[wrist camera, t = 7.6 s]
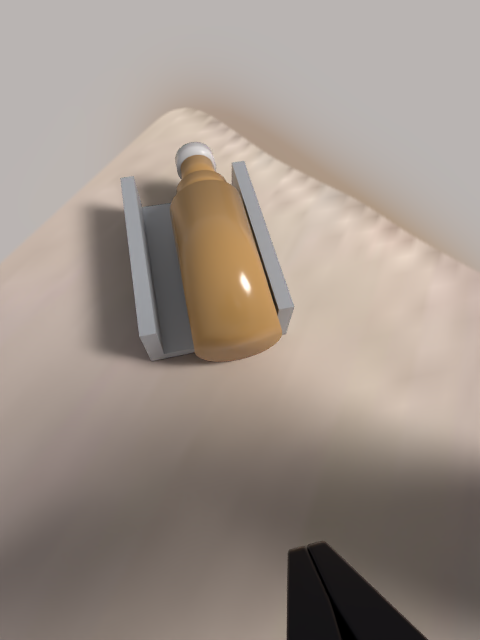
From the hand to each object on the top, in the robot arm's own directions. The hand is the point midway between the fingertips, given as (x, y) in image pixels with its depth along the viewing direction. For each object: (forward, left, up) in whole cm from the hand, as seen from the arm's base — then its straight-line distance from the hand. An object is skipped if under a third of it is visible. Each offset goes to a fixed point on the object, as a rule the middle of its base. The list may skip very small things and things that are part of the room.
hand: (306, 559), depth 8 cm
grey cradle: (+8, -13, -10) cm, 18 cm away
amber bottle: (+4, -8, -7) cm, 11 cm away
